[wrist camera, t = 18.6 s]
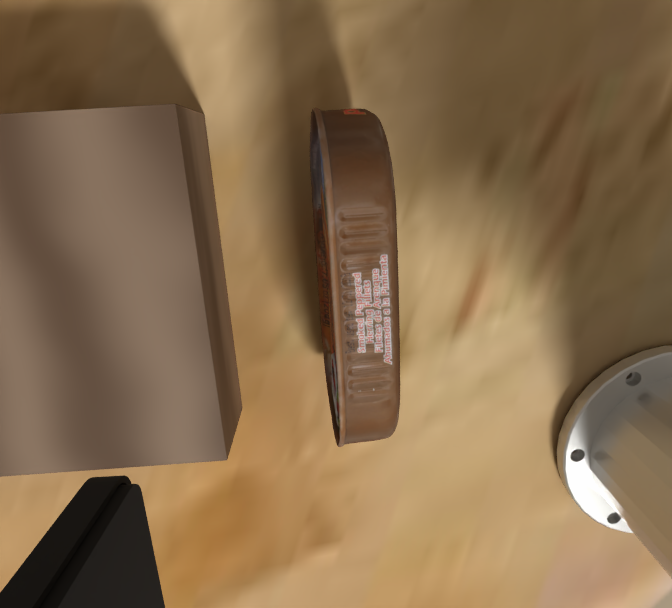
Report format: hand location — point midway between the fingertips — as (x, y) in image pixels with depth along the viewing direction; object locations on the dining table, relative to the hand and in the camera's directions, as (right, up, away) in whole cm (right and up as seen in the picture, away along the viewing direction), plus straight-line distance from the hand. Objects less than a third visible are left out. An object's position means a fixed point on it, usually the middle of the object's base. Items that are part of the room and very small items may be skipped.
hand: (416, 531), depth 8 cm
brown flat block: (-13, +5, +17) cm, 22 cm away
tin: (-1, +6, +18) cm, 19 cm away
